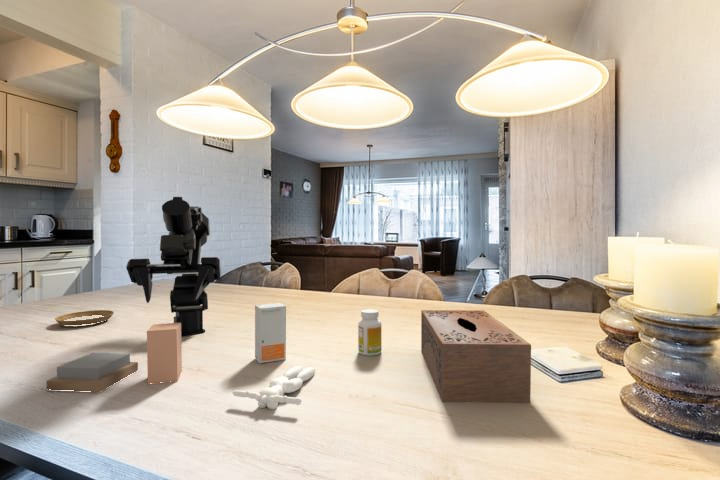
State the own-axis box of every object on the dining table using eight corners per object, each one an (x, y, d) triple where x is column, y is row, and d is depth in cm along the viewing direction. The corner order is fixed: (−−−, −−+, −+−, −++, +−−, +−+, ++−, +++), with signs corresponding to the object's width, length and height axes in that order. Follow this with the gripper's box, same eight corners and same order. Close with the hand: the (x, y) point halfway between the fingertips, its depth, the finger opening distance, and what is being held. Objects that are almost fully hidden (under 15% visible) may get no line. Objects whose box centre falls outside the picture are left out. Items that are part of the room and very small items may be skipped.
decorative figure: (280, 361, 77) (228, 386, 60) (336, 366, 74) (297, 395, 57) (280, 378, 77) (226, 408, 60) (335, 385, 74) (296, 418, 56)
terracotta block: (154, 374, 74) (153, 324, 74) (181, 371, 75) (181, 322, 75) (147, 384, 69) (146, 331, 69) (177, 381, 70) (176, 328, 70)
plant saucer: (41, 328, 109) (41, 319, 109) (86, 316, 124) (86, 309, 124) (85, 330, 107) (84, 321, 107) (125, 318, 122) (125, 310, 121)
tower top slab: (93, 362, 75) (92, 352, 75) (130, 363, 75) (129, 353, 75) (57, 378, 68) (56, 367, 67) (98, 379, 67) (97, 368, 67)
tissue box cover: (421, 352, 88) (421, 310, 87) (483, 352, 87) (483, 310, 87) (442, 403, 62) (442, 343, 62) (530, 404, 61) (531, 344, 61)
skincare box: (259, 364, 79) (258, 308, 79) (254, 358, 83) (254, 304, 83) (287, 360, 82) (286, 305, 82) (281, 354, 86) (281, 302, 85)
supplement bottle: (384, 350, 88) (384, 309, 88) (376, 357, 83) (376, 314, 83) (364, 347, 91) (364, 307, 90) (354, 354, 86) (354, 312, 85)
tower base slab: (91, 372, 76) (91, 360, 76) (138, 374, 76) (137, 362, 75) (46, 394, 66) (46, 380, 66) (99, 396, 66) (99, 382, 66)
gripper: (128, 222, 81) (111, 279, 71) (219, 222, 87) (215, 275, 77) (138, 255, 89) (125, 311, 79) (221, 254, 95) (219, 306, 84)
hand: (171, 300), depth 79 cm, fingers open, 9 cm apart
